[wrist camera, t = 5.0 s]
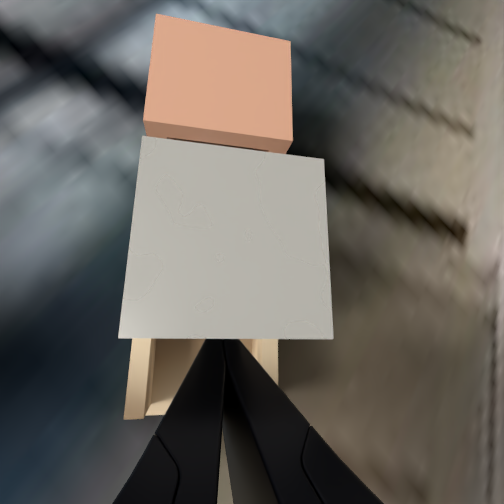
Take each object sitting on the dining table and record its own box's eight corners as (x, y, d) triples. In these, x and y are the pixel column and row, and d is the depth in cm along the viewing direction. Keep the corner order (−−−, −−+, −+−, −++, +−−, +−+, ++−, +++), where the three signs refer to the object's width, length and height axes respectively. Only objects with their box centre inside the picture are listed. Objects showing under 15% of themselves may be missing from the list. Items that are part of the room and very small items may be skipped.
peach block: (265, 189, 19) (292, 141, 14) (156, 178, 18) (143, 120, 13) (265, 111, 21) (290, 41, 16) (165, 95, 19) (156, 13, 14)
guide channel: (261, 405, 17) (278, 424, 14) (136, 410, 16) (122, 432, 12) (262, 120, 22) (275, 84, 18) (166, 105, 20) (162, 64, 17)
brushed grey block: (246, 330, 16) (333, 339, 6) (164, 330, 16) (118, 338, 6) (248, 188, 19) (317, 27, 9) (176, 180, 18) (159, -8, 8)
